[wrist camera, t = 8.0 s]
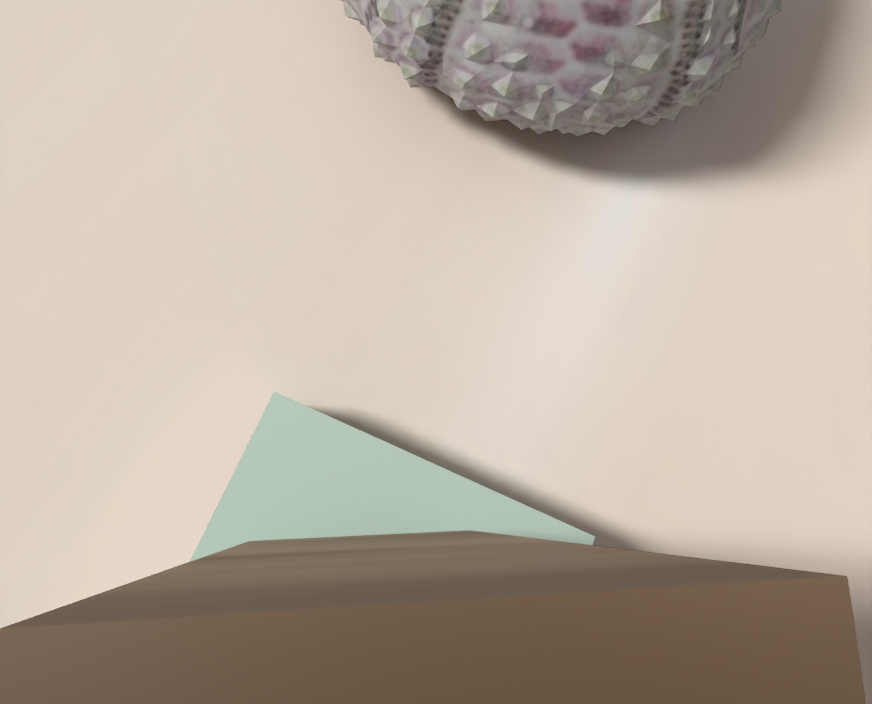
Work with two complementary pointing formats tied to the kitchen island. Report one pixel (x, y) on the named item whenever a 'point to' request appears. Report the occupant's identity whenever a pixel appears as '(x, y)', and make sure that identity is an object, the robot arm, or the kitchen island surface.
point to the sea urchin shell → (566, 55)
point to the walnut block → (444, 629)
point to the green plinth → (353, 489)
